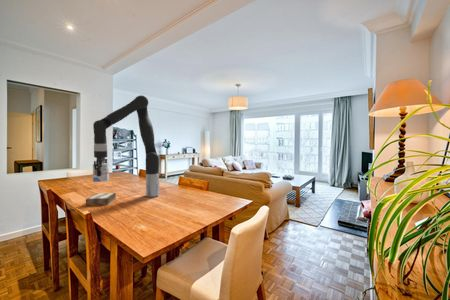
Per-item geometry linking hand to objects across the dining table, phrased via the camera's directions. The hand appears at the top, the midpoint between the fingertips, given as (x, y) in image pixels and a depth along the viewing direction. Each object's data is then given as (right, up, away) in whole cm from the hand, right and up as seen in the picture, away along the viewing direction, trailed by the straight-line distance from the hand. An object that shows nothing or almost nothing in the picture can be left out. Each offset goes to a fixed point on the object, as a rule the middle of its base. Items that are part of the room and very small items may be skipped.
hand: (101, 174), depth 129 cm
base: (0, -19, +1) cm, 19 cm away
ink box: (0, -4, 0) cm, 4 cm away
